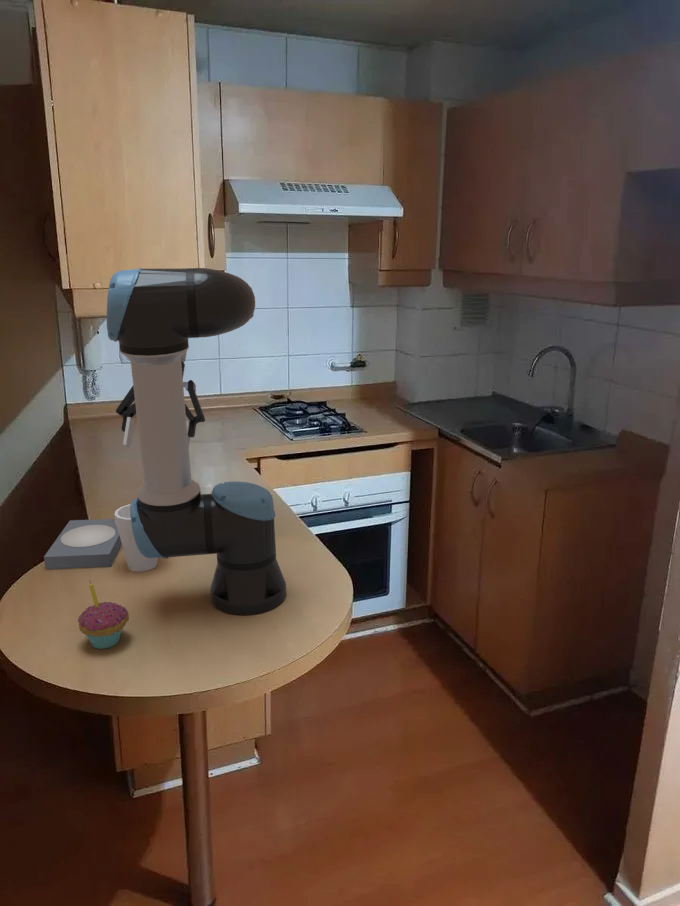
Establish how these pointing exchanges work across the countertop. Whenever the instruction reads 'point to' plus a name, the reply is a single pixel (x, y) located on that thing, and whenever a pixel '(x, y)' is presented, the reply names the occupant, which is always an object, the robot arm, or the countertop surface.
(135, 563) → the foam cup
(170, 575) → the countertop surface
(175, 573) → the countertop surface
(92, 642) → the cupcake
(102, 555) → the pedestal
